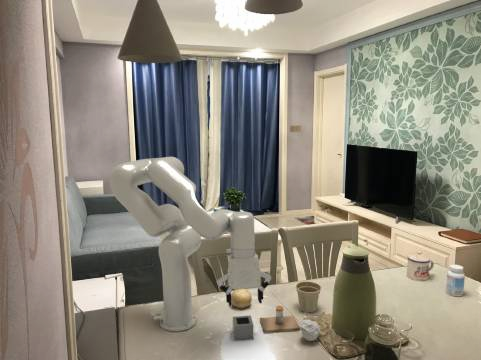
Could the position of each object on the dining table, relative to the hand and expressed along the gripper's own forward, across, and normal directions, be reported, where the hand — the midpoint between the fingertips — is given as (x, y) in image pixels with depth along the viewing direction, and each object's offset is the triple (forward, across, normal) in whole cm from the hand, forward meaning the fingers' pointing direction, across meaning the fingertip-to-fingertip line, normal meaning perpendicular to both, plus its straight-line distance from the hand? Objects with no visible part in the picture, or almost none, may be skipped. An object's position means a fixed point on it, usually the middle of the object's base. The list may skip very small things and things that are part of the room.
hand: (244, 302), depth 126 cm
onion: (+11, +1, +20) cm, 23 cm away
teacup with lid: (+13, +82, +36) cm, 90 cm away
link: (+11, -1, 0) cm, 11 cm away
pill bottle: (+14, +86, +18) cm, 89 cm away
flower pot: (+12, +25, +14) cm, 31 cm away
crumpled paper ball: (+12, +20, -5) cm, 24 cm away
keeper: (+12, +12, +4) cm, 17 cm away
